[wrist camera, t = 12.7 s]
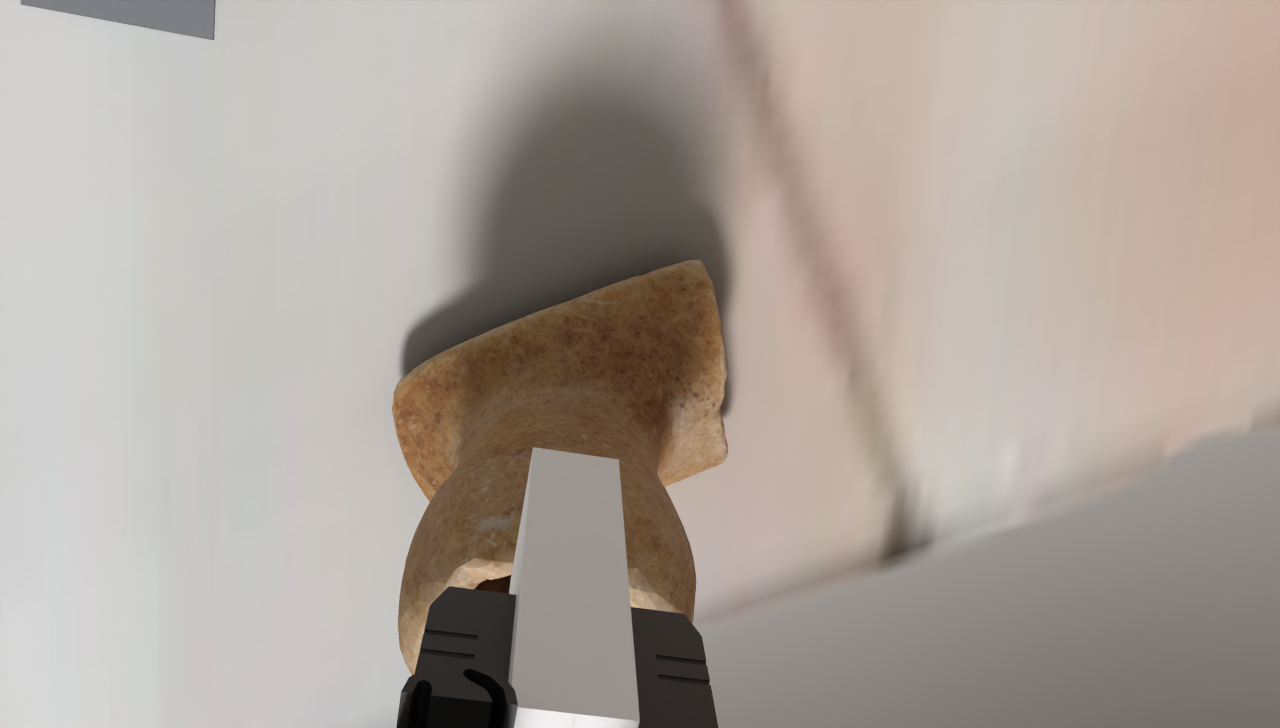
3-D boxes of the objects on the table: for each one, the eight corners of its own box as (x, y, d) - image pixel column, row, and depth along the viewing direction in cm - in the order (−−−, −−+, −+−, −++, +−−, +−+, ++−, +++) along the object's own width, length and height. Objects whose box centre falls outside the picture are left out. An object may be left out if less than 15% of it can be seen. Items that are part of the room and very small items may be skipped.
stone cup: (474, 575, 49) (433, 821, 35) (367, 357, 45) (273, 540, 31) (777, 473, 48) (857, 686, 34) (697, 240, 44) (753, 375, 30)
